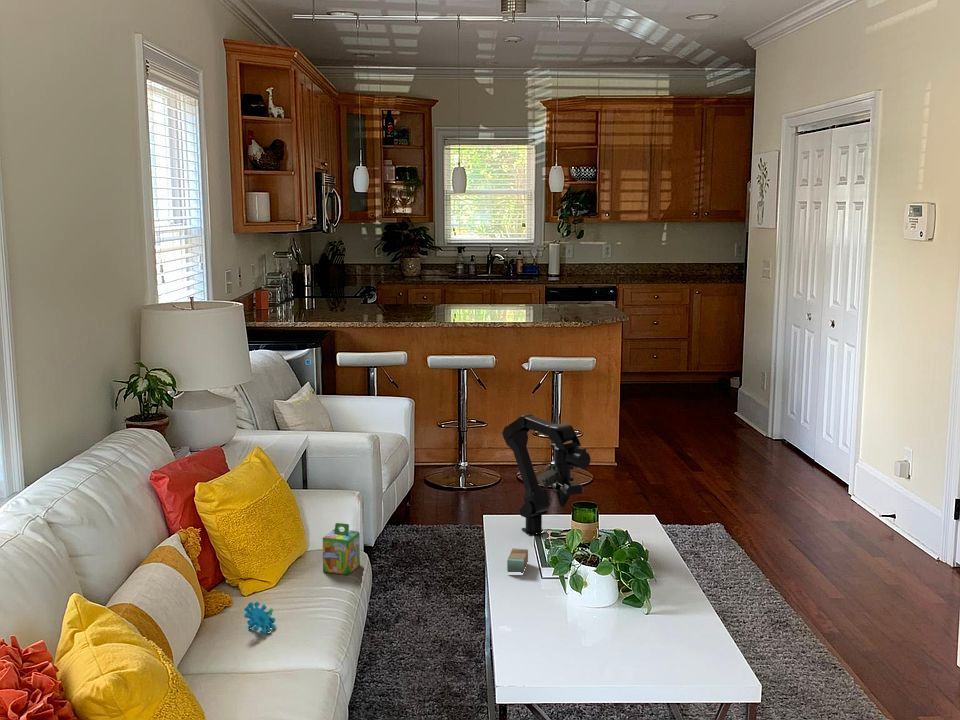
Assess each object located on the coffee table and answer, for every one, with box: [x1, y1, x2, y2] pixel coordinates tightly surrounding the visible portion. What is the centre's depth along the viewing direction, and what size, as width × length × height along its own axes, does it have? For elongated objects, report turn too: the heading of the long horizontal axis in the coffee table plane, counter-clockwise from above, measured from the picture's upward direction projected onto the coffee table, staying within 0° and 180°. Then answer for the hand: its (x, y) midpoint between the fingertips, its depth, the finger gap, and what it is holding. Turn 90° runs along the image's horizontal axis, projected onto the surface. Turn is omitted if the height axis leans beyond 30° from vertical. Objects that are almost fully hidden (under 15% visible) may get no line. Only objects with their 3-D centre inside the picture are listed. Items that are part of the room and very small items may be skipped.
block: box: [506, 547, 529, 573], centre depth 302 cm, size 5×5×10 cm
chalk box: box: [322, 522, 361, 576], centre depth 303 cm, size 9×9×15 cm
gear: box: [243, 601, 276, 635], centre depth 262 cm, size 11×6×10 cm
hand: (562, 506), depth 322 cm, fingers closed
